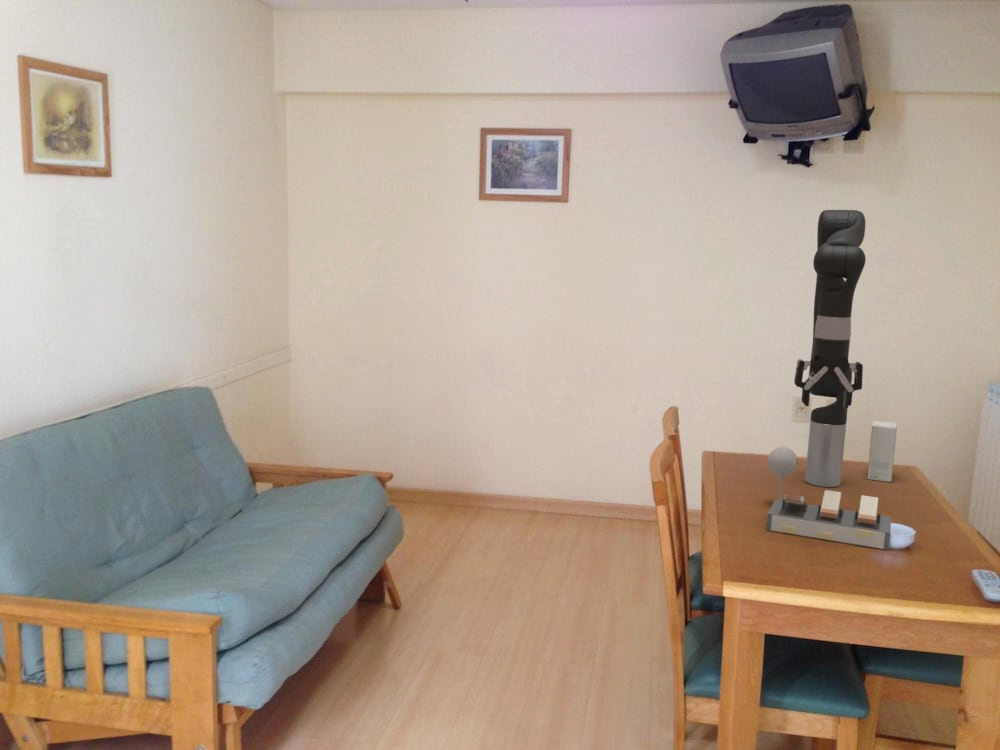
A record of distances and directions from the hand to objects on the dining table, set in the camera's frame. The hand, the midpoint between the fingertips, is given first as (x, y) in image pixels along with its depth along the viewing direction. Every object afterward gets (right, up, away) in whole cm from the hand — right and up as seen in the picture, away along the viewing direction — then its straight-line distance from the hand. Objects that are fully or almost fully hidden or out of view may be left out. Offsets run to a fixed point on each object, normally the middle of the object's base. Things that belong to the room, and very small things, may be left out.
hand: (825, 406), depth 205 cm
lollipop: (-4, -26, +22) cm, 34 cm away
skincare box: (+33, -22, +50) cm, 64 cm away
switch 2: (+2, -23, +3) cm, 23 cm away
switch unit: (+2, -29, +4) cm, 29 cm away
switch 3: (+9, -24, -1) cm, 26 cm away
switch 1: (-5, -22, +6) cm, 24 cm away
